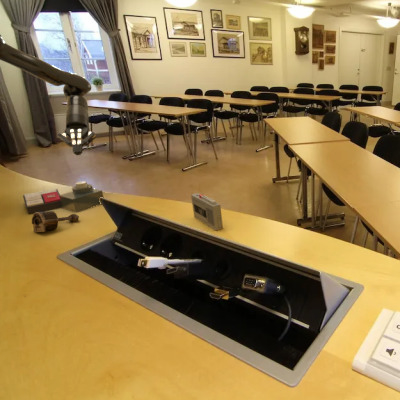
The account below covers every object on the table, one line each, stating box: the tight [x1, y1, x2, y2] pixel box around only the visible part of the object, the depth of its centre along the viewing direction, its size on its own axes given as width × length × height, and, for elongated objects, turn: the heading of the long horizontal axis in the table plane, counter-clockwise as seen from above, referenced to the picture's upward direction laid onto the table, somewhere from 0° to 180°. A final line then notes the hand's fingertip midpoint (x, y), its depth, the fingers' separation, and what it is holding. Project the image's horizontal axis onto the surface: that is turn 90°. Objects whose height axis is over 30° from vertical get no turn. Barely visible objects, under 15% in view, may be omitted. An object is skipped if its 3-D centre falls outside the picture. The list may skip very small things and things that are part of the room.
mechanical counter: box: [31, 210, 80, 233], centre depth 109 cm, size 7×13×10 cm
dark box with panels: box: [22, 188, 63, 215], centre depth 127 cm, size 11×4×15 cm
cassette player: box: [190, 192, 224, 232], centre depth 113 cm, size 16×3×10 cm, turn 47°
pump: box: [75, 180, 88, 188], centre depth 127 cm, size 4×4×2 cm
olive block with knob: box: [59, 183, 105, 214], centre depth 127 cm, size 11×9×8 cm
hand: (77, 154), depth 127 cm, fingers closed
